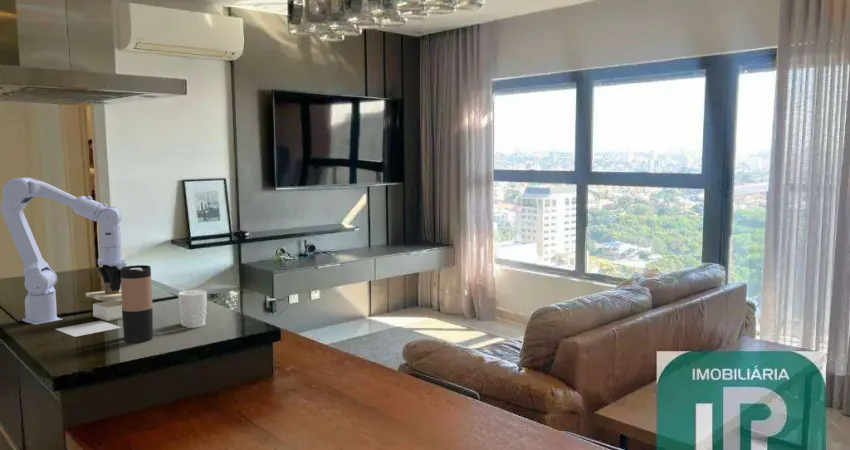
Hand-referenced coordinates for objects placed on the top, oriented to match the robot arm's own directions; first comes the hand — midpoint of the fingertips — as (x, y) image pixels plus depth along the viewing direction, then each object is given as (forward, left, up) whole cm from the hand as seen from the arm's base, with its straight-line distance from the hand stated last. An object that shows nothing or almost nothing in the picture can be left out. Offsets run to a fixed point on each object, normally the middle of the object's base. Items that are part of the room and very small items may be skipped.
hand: (112, 289), depth 198 cm
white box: (0, 0, -9) cm, 9 cm away
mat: (+9, -12, -9) cm, 17 cm away
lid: (0, 0, -2) cm, 2 cm away
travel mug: (+30, -8, -9) cm, 32 cm away
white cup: (+28, +10, -9) cm, 31 cm away
